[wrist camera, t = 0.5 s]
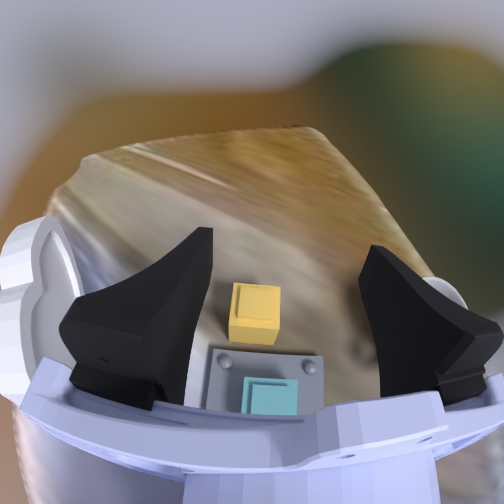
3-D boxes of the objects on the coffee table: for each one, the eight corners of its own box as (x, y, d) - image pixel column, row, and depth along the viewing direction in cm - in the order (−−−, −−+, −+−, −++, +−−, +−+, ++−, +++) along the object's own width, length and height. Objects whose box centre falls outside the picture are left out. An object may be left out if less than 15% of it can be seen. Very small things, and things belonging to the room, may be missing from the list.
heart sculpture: (135, 424, 22) (27, 390, 8) (96, 428, 21) (-24, 390, 7) (116, 303, 31) (53, 194, 17) (83, 310, 30) (10, 210, 16)
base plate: (318, 459, 21) (333, 462, 17) (201, 454, 21) (195, 458, 17) (319, 359, 29) (333, 345, 25) (214, 351, 29) (211, 336, 25)
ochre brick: (273, 345, 30) (280, 327, 26) (229, 341, 30) (228, 322, 26) (274, 306, 33) (281, 283, 29) (233, 303, 33) (234, 279, 29)
